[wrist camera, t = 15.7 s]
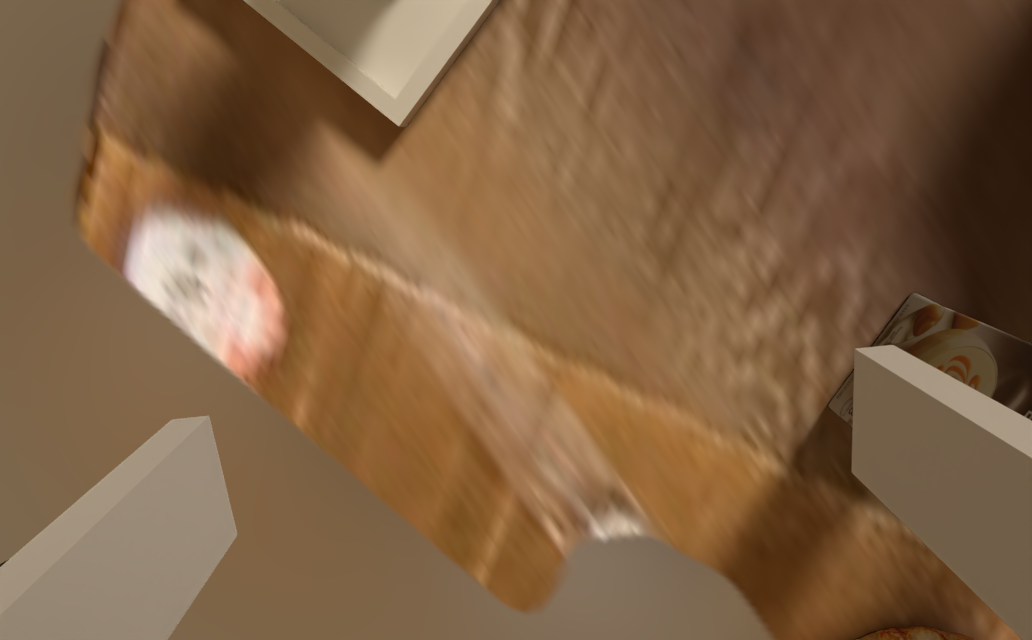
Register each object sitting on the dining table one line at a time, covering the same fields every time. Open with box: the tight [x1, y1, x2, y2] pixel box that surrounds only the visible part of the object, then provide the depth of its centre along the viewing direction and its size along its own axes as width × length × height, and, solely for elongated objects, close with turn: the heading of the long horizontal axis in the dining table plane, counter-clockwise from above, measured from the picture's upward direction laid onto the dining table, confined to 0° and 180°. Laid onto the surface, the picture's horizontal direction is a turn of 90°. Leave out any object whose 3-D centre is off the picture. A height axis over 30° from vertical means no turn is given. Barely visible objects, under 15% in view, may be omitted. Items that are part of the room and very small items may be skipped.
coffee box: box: [828, 293, 1032, 428], centre depth 37 cm, size 9×6×16 cm
